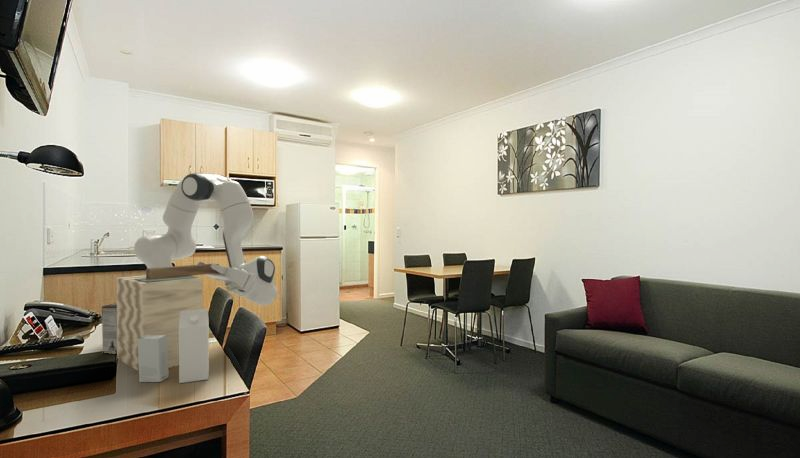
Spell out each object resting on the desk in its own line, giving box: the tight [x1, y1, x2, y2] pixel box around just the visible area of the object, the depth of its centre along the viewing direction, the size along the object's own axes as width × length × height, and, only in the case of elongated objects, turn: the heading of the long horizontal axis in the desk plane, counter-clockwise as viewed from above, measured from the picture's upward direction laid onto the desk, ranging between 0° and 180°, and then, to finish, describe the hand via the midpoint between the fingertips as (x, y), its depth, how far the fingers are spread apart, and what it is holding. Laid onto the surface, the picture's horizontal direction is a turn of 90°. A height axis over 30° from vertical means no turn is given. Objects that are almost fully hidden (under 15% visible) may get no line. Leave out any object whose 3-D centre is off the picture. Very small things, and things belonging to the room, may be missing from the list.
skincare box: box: [137, 335, 170, 383], centre depth 115 cm, size 6×4×12 cm
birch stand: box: [115, 274, 204, 372], centre depth 132 cm, size 22×17×26 cm
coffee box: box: [101, 302, 117, 352], centre depth 142 cm, size 9×6×16 cm
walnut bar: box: [145, 263, 220, 279], centre depth 134 cm, size 4×21×3 cm, turn 141°
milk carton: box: [178, 308, 210, 384], centre depth 116 cm, size 7×7×19 cm
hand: (204, 264), depth 140 cm, fingers open, 8 cm apart
